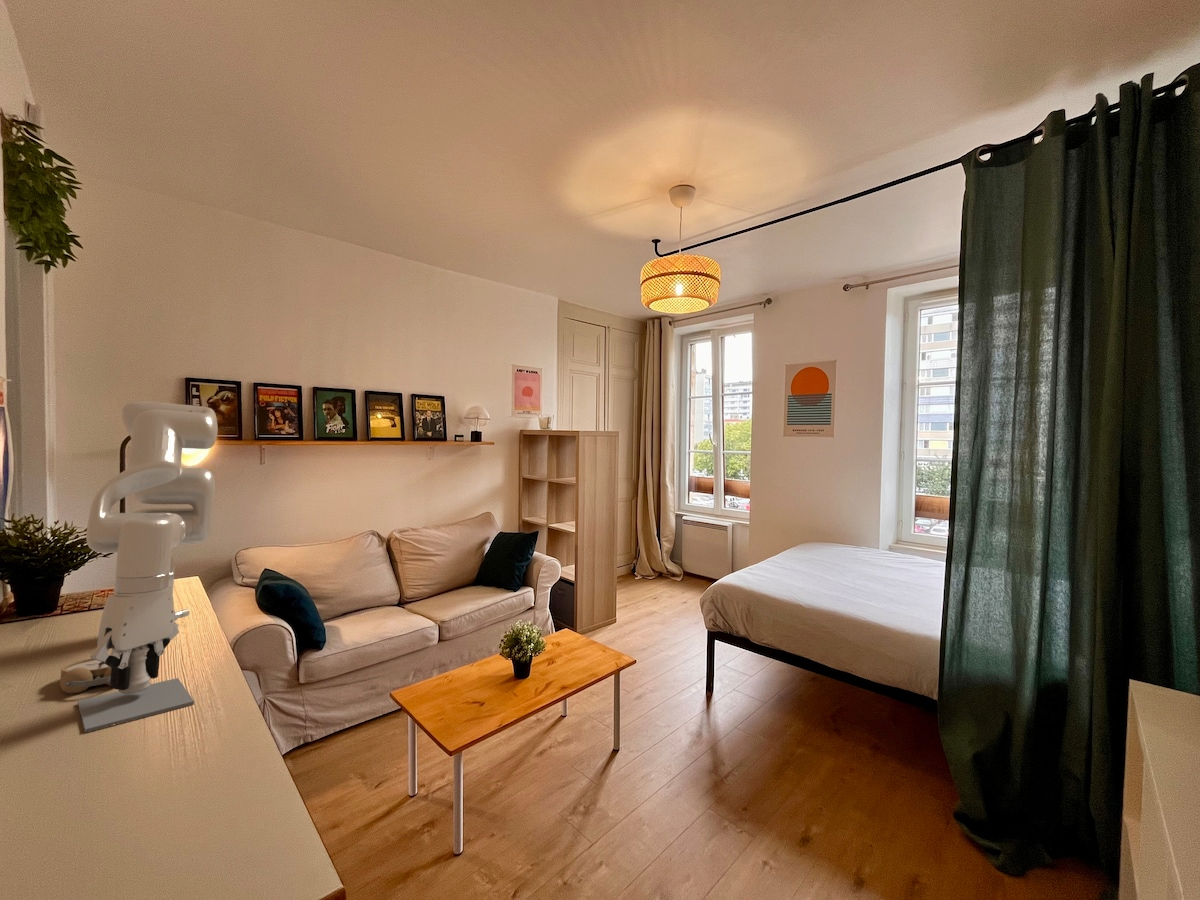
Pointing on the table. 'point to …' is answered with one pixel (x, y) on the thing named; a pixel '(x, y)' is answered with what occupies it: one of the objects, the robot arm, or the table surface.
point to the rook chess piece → (137, 671)
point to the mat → (133, 704)
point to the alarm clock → (84, 675)
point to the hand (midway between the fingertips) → (134, 681)
